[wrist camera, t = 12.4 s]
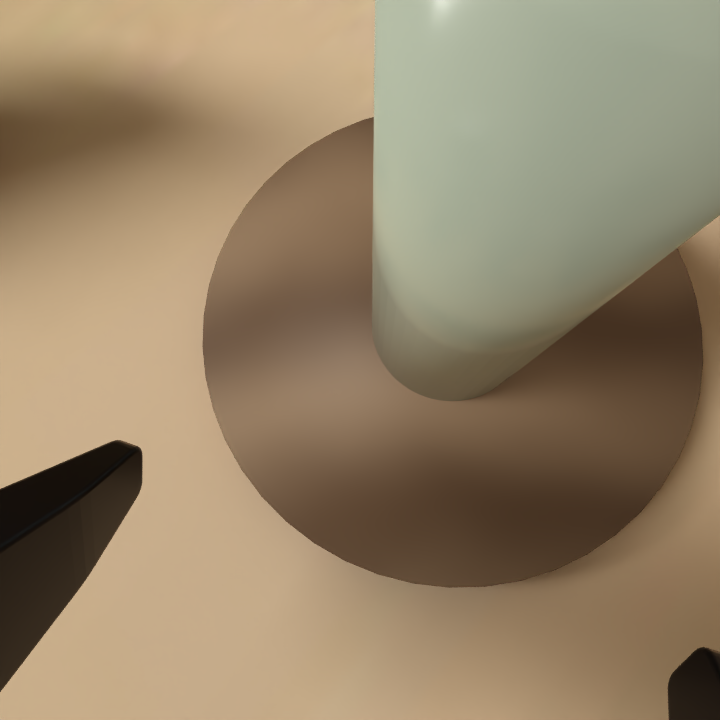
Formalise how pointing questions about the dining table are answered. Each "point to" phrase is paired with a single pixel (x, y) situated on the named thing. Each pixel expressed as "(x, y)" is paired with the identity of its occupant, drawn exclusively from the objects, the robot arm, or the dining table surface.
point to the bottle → (530, 171)
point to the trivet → (430, 416)
